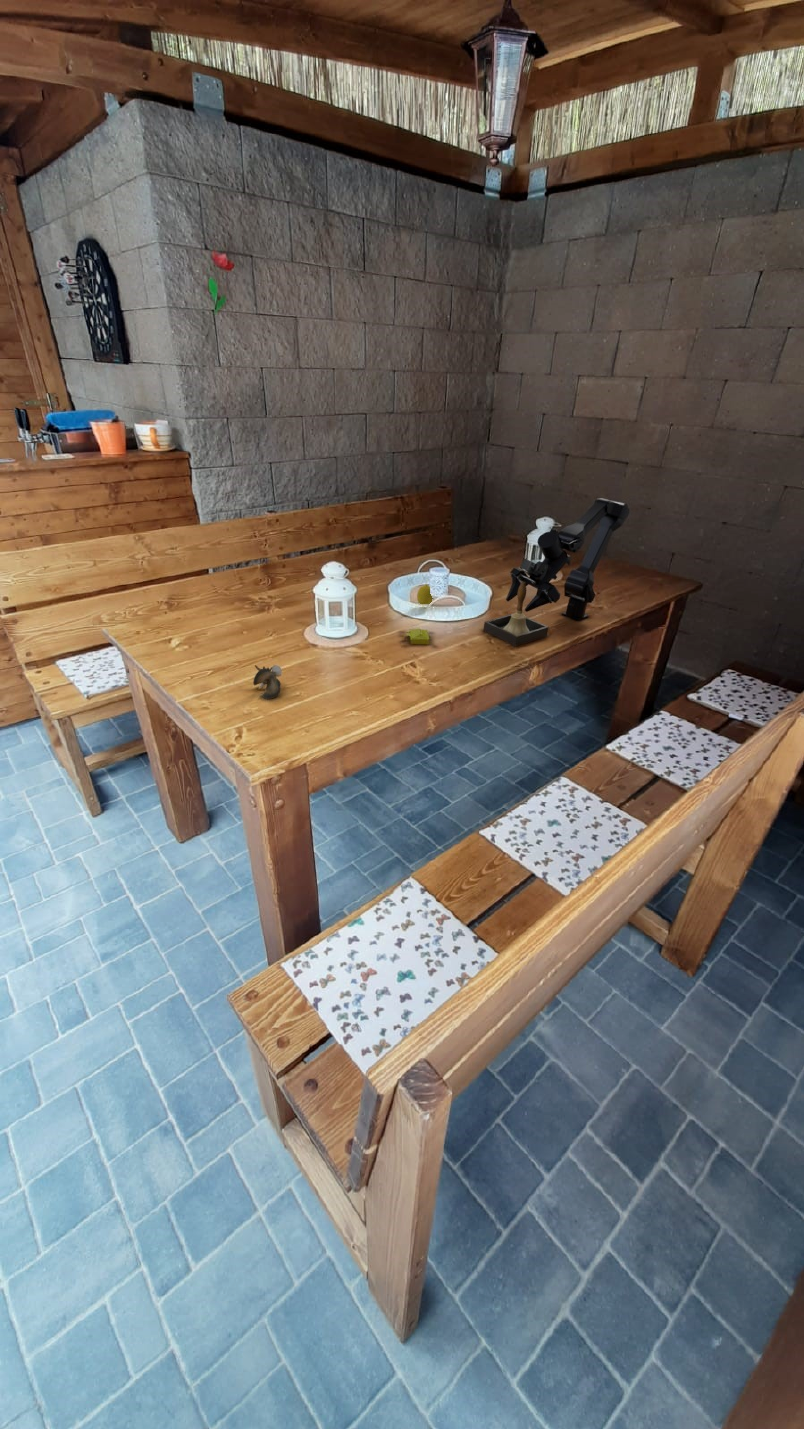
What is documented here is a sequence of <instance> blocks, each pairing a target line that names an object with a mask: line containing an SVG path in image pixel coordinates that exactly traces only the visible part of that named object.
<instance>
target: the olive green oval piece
mask: <svg viewBox="0 0 804 1429" xmlns="http://www.w3.org/2000/svg"><path fill="white" fill-rule="evenodd" d="M430 587H431V586H430V585H428V584H425V585H422V586H420V587H419V589H418V590H417V594H416V600H417V602H418V604H419V603H420V604H430V603H431V602H432V599H433V600H434V598H432V596H431V594H430ZM432 603H433V602H432ZM432 603H431V604H432ZM420 604H419V605H420ZM431 604H430V605H431Z"/></svg>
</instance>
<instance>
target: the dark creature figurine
mask: <svg viewBox="0 0 804 1429" xmlns="http://www.w3.org/2000/svg"><path fill="white" fill-rule="evenodd" d="M254 668H255V669H256V670H257V672H256V673H255V675H254V677H253V681H252V684H253V685H254V686H257V685H259V686H258V690H261V689H263V688H264V687H265V690H264V692H263V693H262V695H261V696H262V698H263V699H266V700H271V699H274V698H276V697H279V695H280V694H281V685H282V684H281V681H280V679H278V677H279V678H280V677H282V673H283V672H282V671H283V670H282V667H281V666H279V665H278V664H273V665H272V666H271V667H270V668H269V666H268V667H267V668H266V666H264V665H263V667H262V668H259V666H258V665H254Z"/></svg>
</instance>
